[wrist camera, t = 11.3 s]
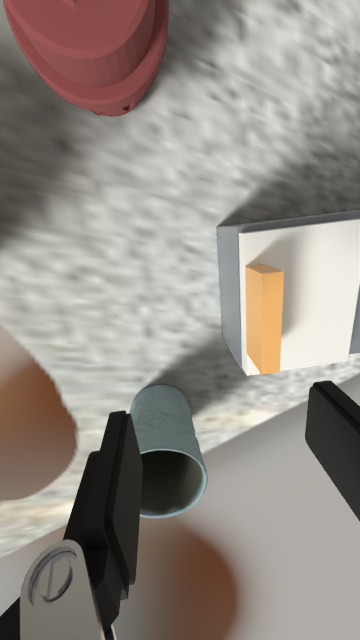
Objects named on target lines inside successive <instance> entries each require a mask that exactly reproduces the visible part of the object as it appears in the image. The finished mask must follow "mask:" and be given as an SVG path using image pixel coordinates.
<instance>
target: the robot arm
mask: <svg viewBox="0 0 360 640" xmlns="http://www.w3.org/2000/svg"><path fill="white" fill-rule="evenodd" d="M305 439H306V442H307V444H308V446H309V448H310V449H311V451H312V452H313V453H314V455H315V456H316V458H317V459H318V461H319V462H320V464H321V465H322V466H323V468H324V470H325V471H326V473H327V474H328V475H329V477H330V478H331V480H332V481H333V483H334V484H335V486H336V487H337V489H338V490H339V491H340V493H341V495H342V496H343V497H344V499H345V500H346V502H347V503H348V505H349V506H350V508H351V509H352V510H353V512H354V513H355V515H356V516H357V518H358V519H359V521H360V406H359V405H357V404H356V403H355V402H354V401H353V400H352V399H351V398H350V397H349V396H347V395H346V394H345V393H344V392H343V391H342V390H341V389H340V388H338V387H337V386H336V385H335V384H334V383H333V382H331V381H329V380H328V381H321V382H315V383H314V384H313V387H310V390H309V400H308V410H307V421H306V432H305ZM142 475H143V464H142V459H141V454H140V450H139V446H138V442H137V438H136V433H135V429H134V425H133V421H132V416H131V414H126V411H117V412H111V413H110V415H109V418H108V422H107V426H106V430H105V433H104V437H103V441H102V445H101V448H100V451H93V452H91V453H90V455H89V457H88V460H87V463H86V466H85V470H84V473H83V476H82V479H81V483H80V486H79V489H78V492H77V496H76V499H75V502H74V505H73V508H72V512H71V515H70V518H69V521H68V525H67V528H66V531H65V535H64V538H63V540H62V541H58V542H56V543H54V544H52V545H50V546H49V547H48V548H47V549H45V550H44V551H43V552H42V553H41V554H40V555H39V556H38V557H37V558H36V560H35V561H34V562H33V564H32V565H31V567H30V569H29V570H28V572H27V574H26V576H25V579H24V582H23V584H22V587H21V595H20V597H19V598H18V599H17V600H16V601H15V602H14V603H13V604H12V605H11V606H10V607H9V608H8V609H7V610H6V611H5V612H4V613H3V614H2V615H1V616H0V640H116V636H115V632H114V628H113V622H114V620H115V619H116V618H117V616H118V615H119V607H120V600H124V599H128V592H129V585H132V584H134V583H135V577H136V564H137V563H136V562H137V549H138V534H139V518H140V505H141V490H142Z"/></svg>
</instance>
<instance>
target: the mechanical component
mask: <svg viewBox="0 0 360 640" xmlns="http://www.w3.org/2000/svg"><path fill="white" fill-rule="evenodd" d="M3 3H4V7H5V11H6V14H7V18H8V21H9V24H10V26H11V29H12V31H13V34H14V36H15V38H16V40H17V42H18V44H19V46H20V48H21V50H22V51H23V53H24V54H25V56H26V58H27V59H28V61H29V62H30V64H31V65H32V66H33V67H34V69H35V70H36V71H37V72H38V74H39V75H40V76H41V78H42V79H43V80H44V81H45V82H46V83H47V84H48V85H49V86H50V88H51V89H53V90H54V91H55V92H56V93H57V94H58V95H60V96H61V97H62V98H64V99H65V100H67V101H68V102H70V103H72V104H74V105H76V106H78V107H80V108H84V109H87V110H91V111H93V112H94V113H95V114H97V115H105V116H120V115H124V114H126V113H128V112H130V111H131V110H132V109H134V108H135V107H136V106H137V105H138V103H139V102H140V101H141V99H142V97H143V95H144V93H145V92H146V91H147V89H148V88H149V87H150V86H151V84H152V83H153V81H154V79H155V78H156V76H157V74H158V71H159V69H160V67H161V64H162V61H163V57H164V54H165V49H166V43H167V33H168V0H3Z"/></svg>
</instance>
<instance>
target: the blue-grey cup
mask: <svg viewBox="0 0 360 640" xmlns="http://www.w3.org/2000/svg"><path fill="white" fill-rule="evenodd" d="M129 414H131V416H132V421H133V425H134V429H135V433H136V438H137V442H138V446H139V450H140V454H141V459H142V464H143V475H142V490H141V505H140V517H145V518H165V517H170V516H174V515H177V514H180V513H182V512H184V511H186V510H188V509H190V508H191V507H193V506H194V505H195V504H196V503H197V502H198V501H199V500H200V499H201V497H202V496H203V494H204V492H205V489H206V487H207V482H208V479H207V478H208V477H207V472H206V468H205V465H204V462H203V458H202V455H201V452H200V449H199V443H198V440H197V438H196V437H195V430H194V427H193V422H192V415H191V411H190V407H189V403H188V400H187V398H186V397H185V395H184V394H183V393H182V392H181V391H180V390H178V389H177V388H175V387H172V386H169V385H153V386H149V387H147V388H145V389H143V390H142V391H140V392H139V393H138V394H137V395H136V397H135V398H134V400H133V403H132V405H131V409H130V413H129Z"/></svg>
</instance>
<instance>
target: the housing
mask: <svg viewBox="0 0 360 640" xmlns="http://www.w3.org/2000/svg"><path fill="white" fill-rule="evenodd" d="M350 219H360V209H359V210H350V211H342V212H334V213H326V214H318V215H310V216H302V217H293V218H285V219H277V220H269V221H261V222H253V223H245V224H237V225H228V226H220V227H216V228H217V246H218V264H219V282H220V300H221V318H222V337H223V339H224V341H225V342H226V344H227V346H228V348H229V349H230V351H231V353H232V355H233V356H234V358H235V360H236V362H237V363H238V365H239V367H240V369H243V368H242V344H241V303H240V261H239V233H245V232H253V231H261V230H269V229H277V228H285V227H294V226H302V225H310V224H318V223H326V222H334V221H342V220H350ZM354 353H360V285H359V292H358V298H357V304H356V311H355V317H354V323H353V330H352V336H351V342H350V349H349V354H354Z"/></svg>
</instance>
